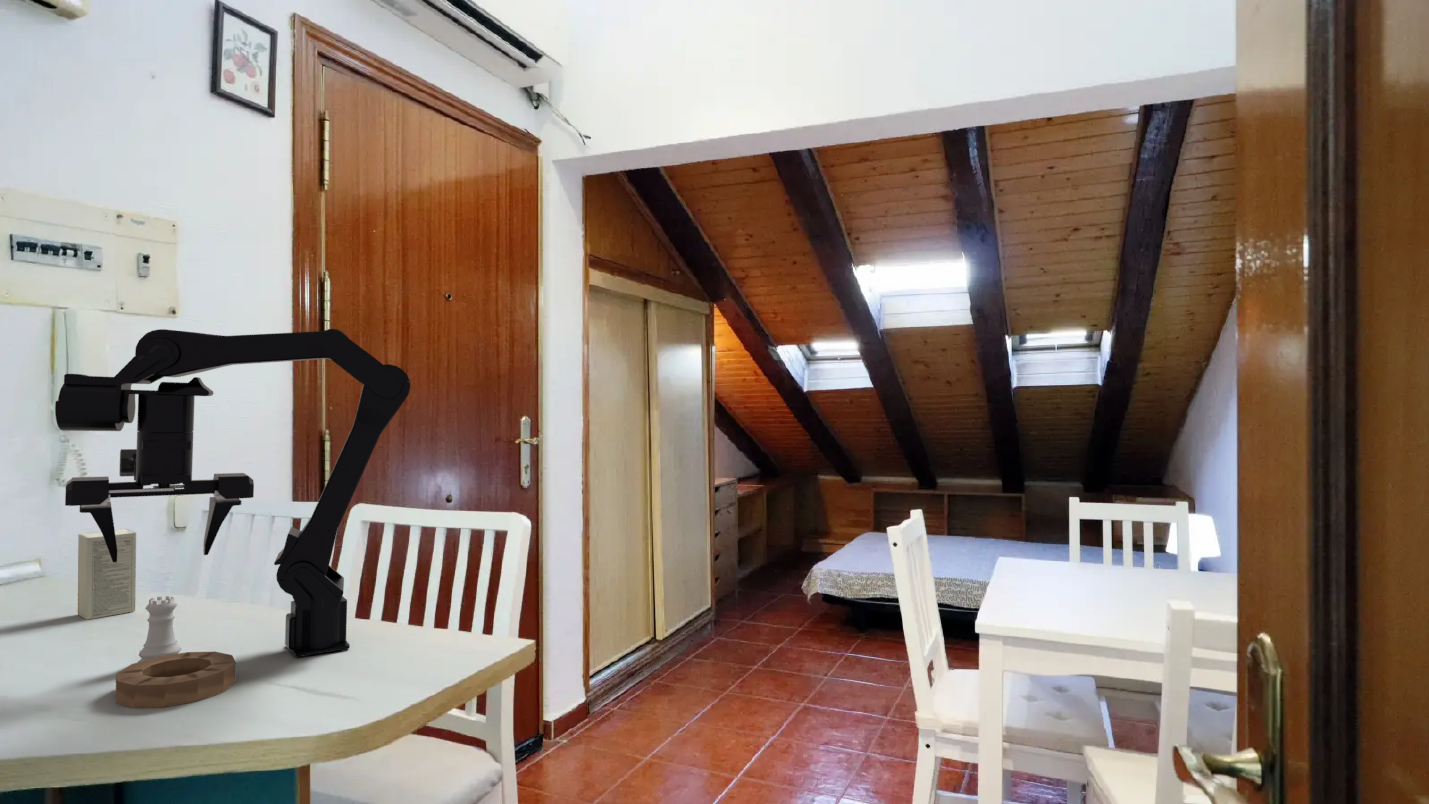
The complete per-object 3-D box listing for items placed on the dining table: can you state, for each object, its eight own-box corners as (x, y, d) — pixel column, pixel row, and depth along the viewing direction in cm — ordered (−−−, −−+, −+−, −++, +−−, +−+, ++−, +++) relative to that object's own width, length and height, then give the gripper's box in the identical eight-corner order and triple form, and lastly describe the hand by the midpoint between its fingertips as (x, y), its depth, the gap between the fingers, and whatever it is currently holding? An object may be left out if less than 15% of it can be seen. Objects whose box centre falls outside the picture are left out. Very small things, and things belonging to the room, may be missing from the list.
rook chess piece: (158, 671, 94) (160, 604, 94) (128, 667, 95) (129, 601, 95) (190, 659, 99) (192, 595, 99) (160, 656, 100) (162, 593, 100)
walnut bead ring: (227, 665, 97) (227, 646, 97) (240, 693, 88) (240, 671, 88) (114, 683, 90) (115, 662, 90) (117, 715, 81) (117, 692, 81)
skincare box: (125, 606, 121) (128, 528, 121) (136, 612, 119) (138, 531, 119) (75, 615, 116) (77, 533, 116) (84, 620, 114) (87, 536, 113)
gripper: (243, 429, 109) (239, 541, 109) (69, 428, 97) (65, 554, 97) (256, 433, 100) (252, 555, 100) (67, 433, 89) (62, 571, 89)
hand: (161, 558), depth 97 cm, fingers open, 9 cm apart
